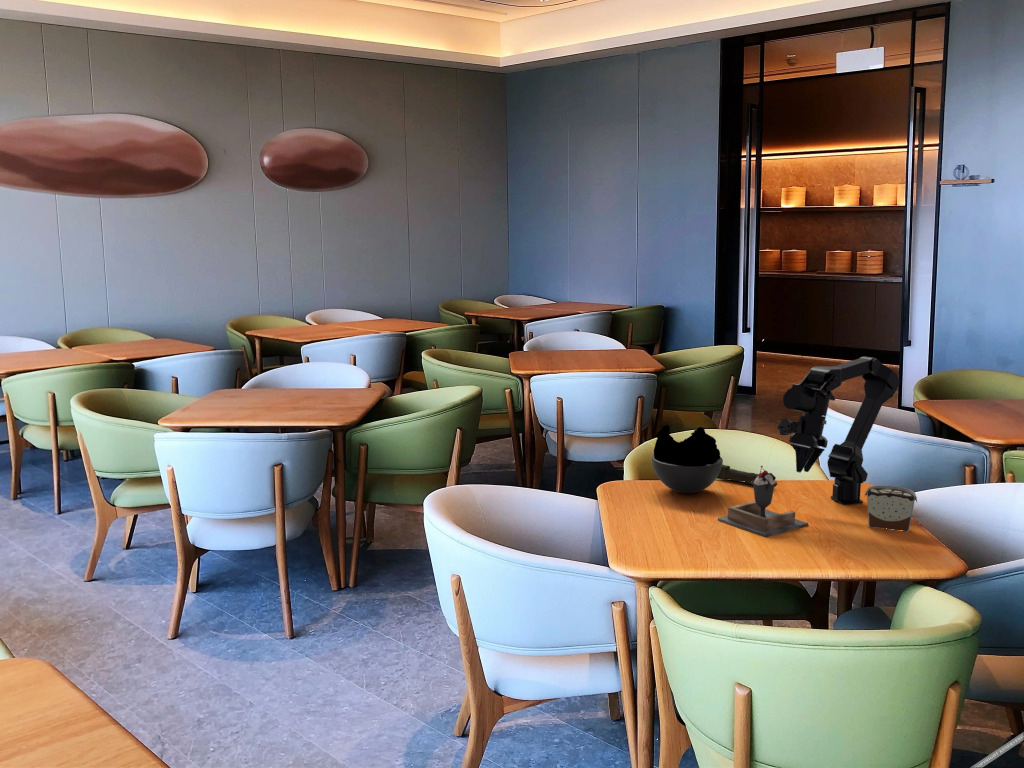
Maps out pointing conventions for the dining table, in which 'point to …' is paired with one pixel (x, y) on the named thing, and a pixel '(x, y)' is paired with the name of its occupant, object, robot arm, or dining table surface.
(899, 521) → the food container
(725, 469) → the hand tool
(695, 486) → the coal bowl
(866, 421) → the robot arm
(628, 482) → the dining table surface
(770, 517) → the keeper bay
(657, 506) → the dining table surface
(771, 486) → the sundae
